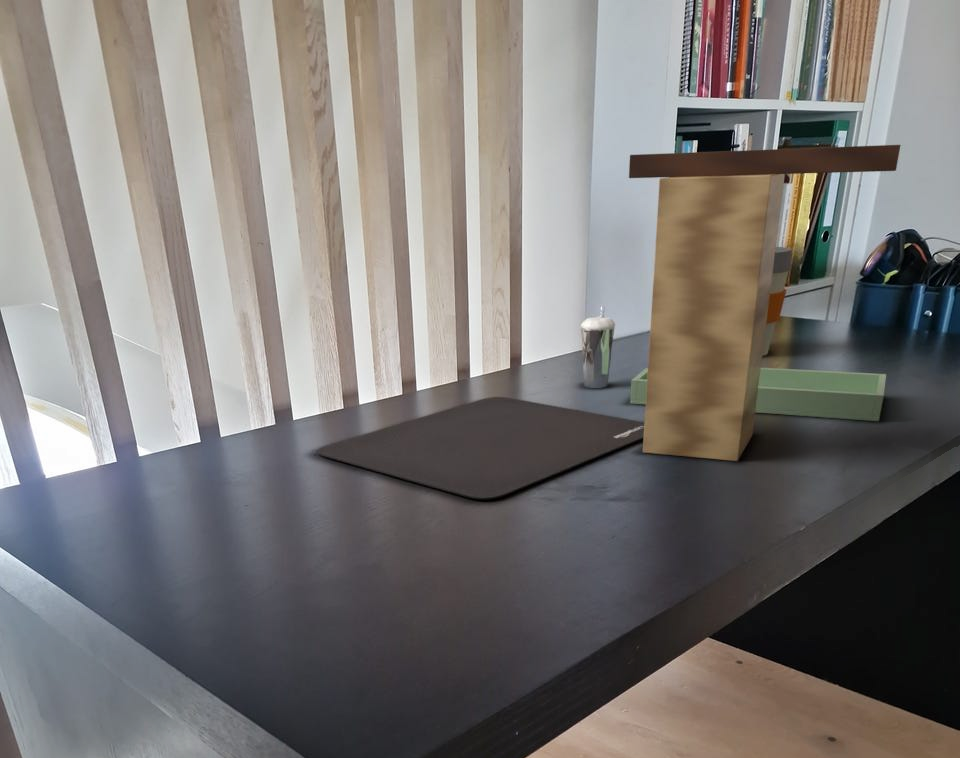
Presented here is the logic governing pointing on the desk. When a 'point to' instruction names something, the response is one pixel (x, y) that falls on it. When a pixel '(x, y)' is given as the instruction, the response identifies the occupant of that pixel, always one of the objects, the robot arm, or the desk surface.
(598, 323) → the milkshake
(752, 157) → the stick
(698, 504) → the desk surface
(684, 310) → the stand
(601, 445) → the mouse pad
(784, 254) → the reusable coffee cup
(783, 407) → the tray
